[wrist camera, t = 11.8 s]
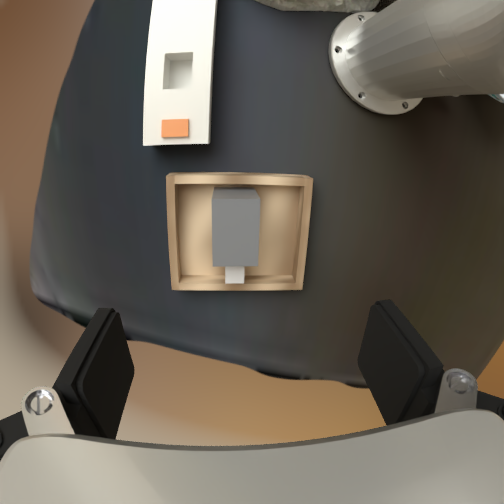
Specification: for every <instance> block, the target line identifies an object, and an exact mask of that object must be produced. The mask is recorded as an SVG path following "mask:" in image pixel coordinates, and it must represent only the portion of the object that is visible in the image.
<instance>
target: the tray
mask: <svg viewBox="0 0 504 504" xmlns="http://www.w3.org/2000/svg"><path fill="white" fill-rule="evenodd" d="M214 187H254V188H255V190H256V192H257V194H258V196H259V197H260V228H259V256H258V266H244V283H232V284H225V267H213V260H212V195H213V190H214ZM312 187H313V178H311V177H309V176H307V175H294V174H273V173H240V172H174V173H170V174H168V175H167V176H166V190H167V221H168V241H169V257H170V271H171V284H172V290H302V286H303V278H304V269H305V260H306V251H307V242H308V232H309V221H310V211H311V199H312Z"/></svg>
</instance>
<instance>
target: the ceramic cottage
mask: <svg viewBox="0 0 504 504" xmlns="http://www.w3.org/2000/svg"><path fill="white" fill-rule="evenodd" d="M255 1H257V2H259V3H262V4H264V5H267V6H271V7H274V8H276V9H279V10H282V11H309V10H310V11H321V10H322V11H335V12H347V13H358V12H364V11H367V12H369V11H371V10H372V9H373V8H375V6H377V4H378V3H379V1H380V0H255Z"/></svg>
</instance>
